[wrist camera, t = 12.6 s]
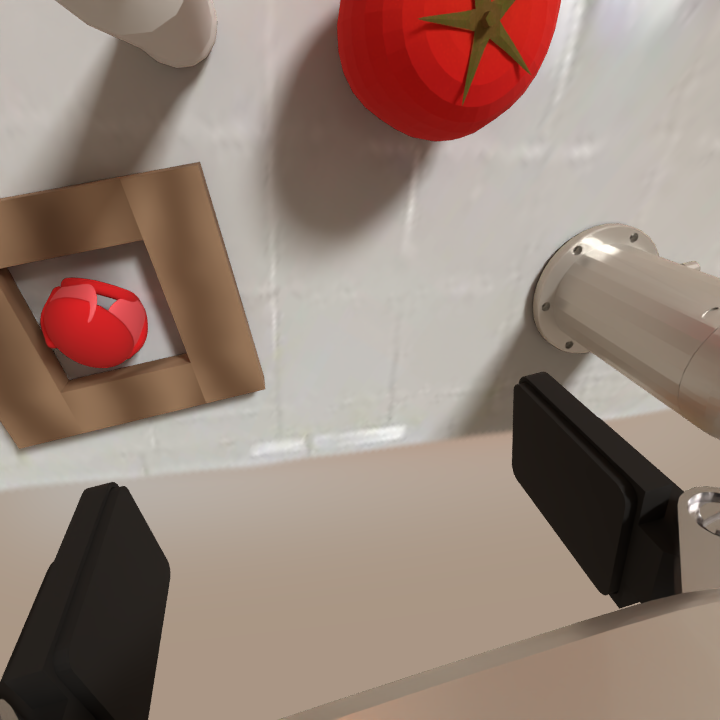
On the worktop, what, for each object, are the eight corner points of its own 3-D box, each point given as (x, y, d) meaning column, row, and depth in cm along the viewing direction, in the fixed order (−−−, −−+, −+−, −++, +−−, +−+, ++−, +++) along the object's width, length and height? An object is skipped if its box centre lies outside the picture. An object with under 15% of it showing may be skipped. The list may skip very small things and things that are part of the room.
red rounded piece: (25, 259, 30) (0, 350, 29) (114, 275, 30) (90, 367, 29) (97, 292, 38) (78, 364, 37) (167, 305, 38) (150, 377, 37)
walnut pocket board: (199, 162, 33) (197, 165, 31) (264, 377, 42) (265, 389, 40) (-111, 218, 30) (-132, 225, 29) (29, 433, 39) (19, 448, 38)
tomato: (358, 162, 35) (410, 187, 24) (293, -27, 29) (323, -107, 18) (509, 96, 35) (628, 91, 24) (475, -106, 29) (613, -233, 18)
